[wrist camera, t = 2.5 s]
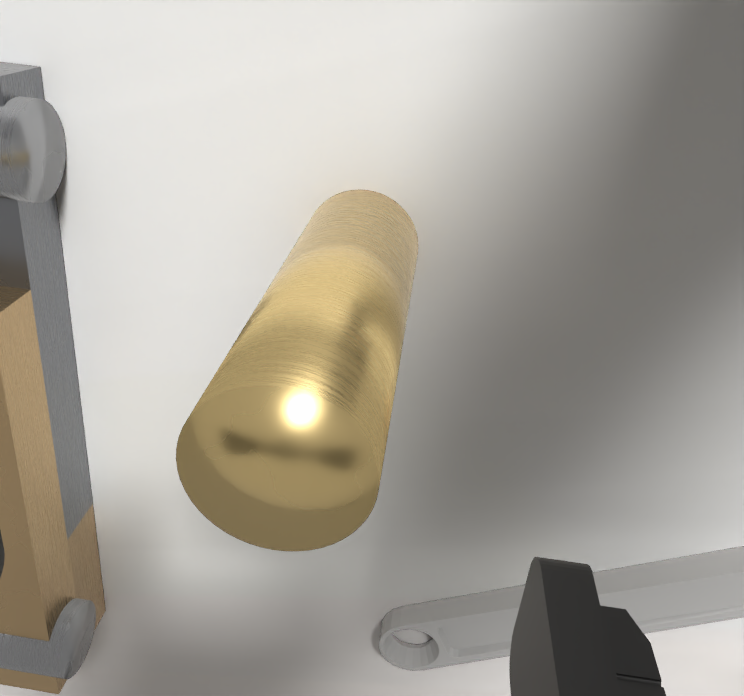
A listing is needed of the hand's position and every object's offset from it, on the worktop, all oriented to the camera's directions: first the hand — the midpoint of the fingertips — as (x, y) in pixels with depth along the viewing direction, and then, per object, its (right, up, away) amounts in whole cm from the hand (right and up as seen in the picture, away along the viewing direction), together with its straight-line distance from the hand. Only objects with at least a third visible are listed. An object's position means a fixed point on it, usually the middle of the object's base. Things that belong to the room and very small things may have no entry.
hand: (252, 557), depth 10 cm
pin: (+1, +6, +11) cm, 13 cm away
